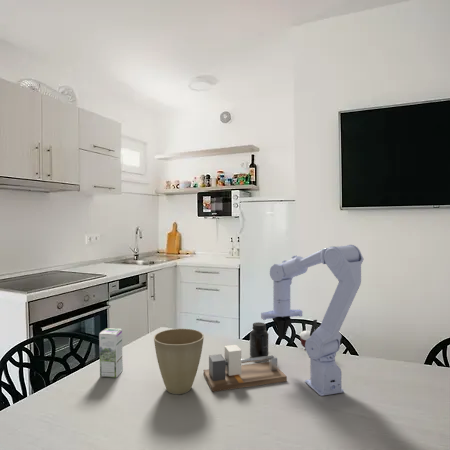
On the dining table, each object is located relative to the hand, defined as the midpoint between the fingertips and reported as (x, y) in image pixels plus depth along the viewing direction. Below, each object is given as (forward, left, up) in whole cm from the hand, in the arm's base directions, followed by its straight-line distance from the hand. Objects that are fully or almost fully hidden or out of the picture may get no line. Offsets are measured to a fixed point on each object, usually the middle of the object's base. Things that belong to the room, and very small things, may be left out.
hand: (281, 338), depth 122 cm
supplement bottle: (+11, +4, -10) cm, 15 cm away
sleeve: (-4, +19, -7) cm, 21 cm away
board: (-4, +15, -10) cm, 18 cm away
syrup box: (+11, +56, -10) cm, 58 cm away
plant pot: (-5, +36, -10) cm, 38 cm away
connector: (-4, +24, -8) cm, 26 cm away
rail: (-4, +14, -8) cm, 17 cm away
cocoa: (+14, -18, -10) cm, 25 cm away
